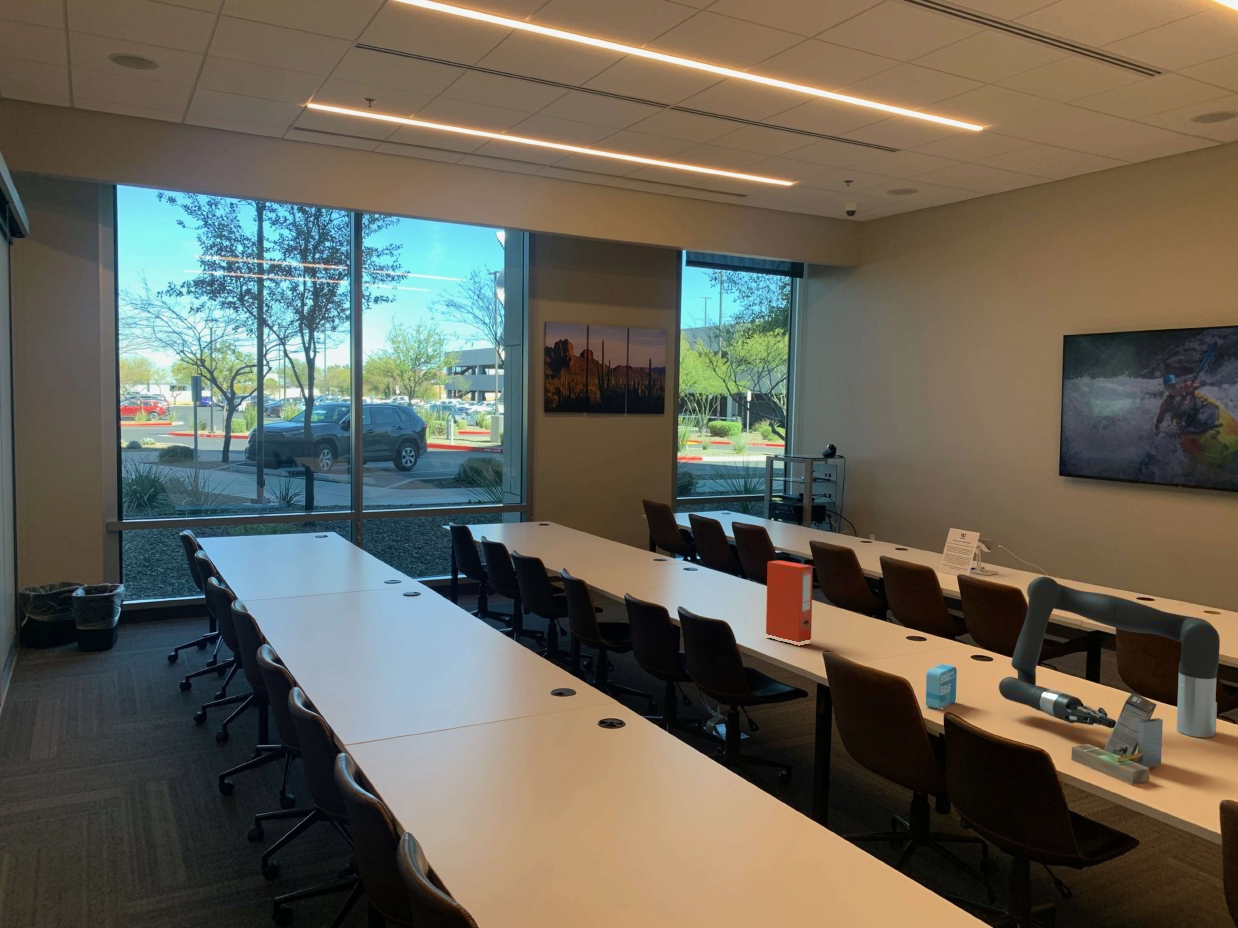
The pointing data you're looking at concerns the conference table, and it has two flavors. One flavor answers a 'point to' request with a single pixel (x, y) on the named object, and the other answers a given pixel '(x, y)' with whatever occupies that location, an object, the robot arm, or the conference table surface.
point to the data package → (941, 686)
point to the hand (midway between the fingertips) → (1114, 724)
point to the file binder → (789, 600)
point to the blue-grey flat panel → (1148, 743)
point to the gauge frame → (1110, 764)
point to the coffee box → (1129, 726)
